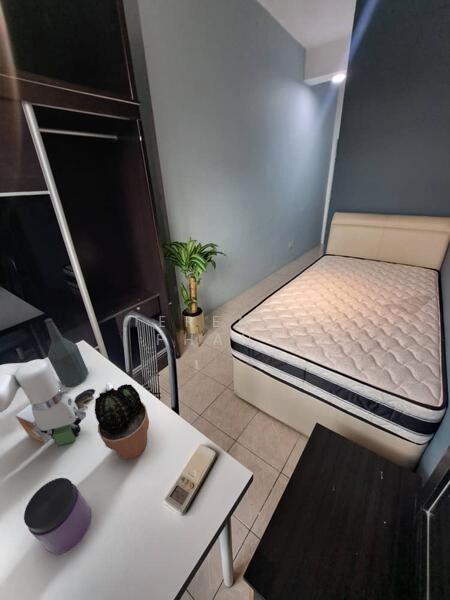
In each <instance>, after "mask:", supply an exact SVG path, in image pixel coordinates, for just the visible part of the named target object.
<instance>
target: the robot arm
mask: <svg viewBox="0 0 450 600" xmlns="http://www.w3.org/2000/svg"><path fill="white" fill-rule="evenodd" d="M20 388H21V390H22V391H23V393H24V394H25V396H26V397H27V400H29V402H30V404H32V412H33V416H34V419H35V422H36V424H35V426H34V428H33V431H39V432H40V431H41V432H42V433H47V435H49V436H50V435H51V439H52V440H53V441H54V442H55V443H56V441H55V440H54V438H53V433H54V430H55V428H58V427H61V426H65V425H68V424H69V425H70V426H71V427H72V431H73V433H74V435H75V437H76V438H79V434H80V433H81V432H82V431H81V430H82V428H81V426H80V424H81V422H82V421H83V420H84V419H85V418H86V417H87V412H85V411H83V410H80V409H79V407H77V405H76V404H75V402H74V401H75V400H74V399H73V398H72V396H71V395H69V393H68V390H67V389H63V388H62V387H61V386H60V384H59V382H58V380H57V378H56V376H55V374H54V372H53V370H52V367H51V365H50V364H49V362H48V361H47V360H44V359H42V358H41V359H39V358H38V359H33V360H29V361H27V362H17V363H16V362H15V363H3V364H0V414H1V413H3V412H5V411H6V410H7V409H8V408H10V406H11V405H12V402H13V401H14V399H15V396H16V395H17V392H18V390H19V389H20Z"/></svg>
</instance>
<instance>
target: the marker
mask: <svg viewBox="0 0 450 600" xmlns="http://www.w3.org/2000/svg"><path fill="white" fill-rule="evenodd" d="M105 386H106V390H107V391H108V390H110V389H112V388H114V386H113V384H112V383H111V382H107V383H106V385H105Z"/></svg>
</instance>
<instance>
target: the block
mask: <svg viewBox="0 0 450 600" xmlns="http://www.w3.org/2000/svg"><path fill="white" fill-rule="evenodd" d="M53 438H54V440H55V441H56V442H55V441H54V440H53V441H54V442H55V444H56V445H57V446H62V445H67V444H69V443H73V442H76V440H77V437H75V435H74V433H73V431H72V427H71V426H70V425H69V424H68V425H65V426H61V427H58V428H55V430H54V433H53Z"/></svg>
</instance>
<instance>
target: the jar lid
mask: <svg viewBox="0 0 450 600" xmlns="http://www.w3.org/2000/svg"><path fill="white" fill-rule="evenodd" d="M72 483H73V482H72V481H71V480H70V479H68V478H67V477H58V478H55V479H52V480H50V481H48V482H46V483H45V484H44V485H42V486H41V487H40V488H39V489H38V490H37V491H36V492H35V493H33V496H31V498H30V500H29V501H28V503H27V505H26V506H25V510H24V514H23V521H24V524H25V526H26V527H27V528H28V527H29V528H30V529H31V530H32V531H33V532H35V533H45V532H48V531H50V530H52V529H54V528H55V527H57V526H58V525H59V524H61V523H62V522H63V521H64V520H65V519H66V517H67V516H68V515H69V513H70V512H71V510H72V509H73V507H74V504H75V501H76V496H77V492H76V488H75V487H74V485H75V484H74V483H73V484H74V485H73V484H72Z"/></svg>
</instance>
